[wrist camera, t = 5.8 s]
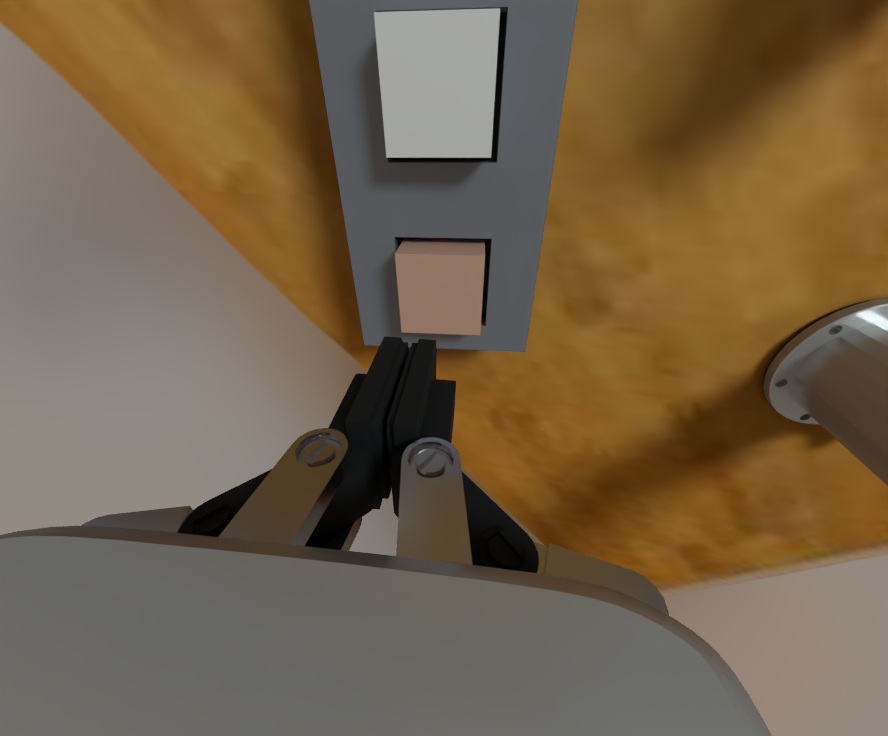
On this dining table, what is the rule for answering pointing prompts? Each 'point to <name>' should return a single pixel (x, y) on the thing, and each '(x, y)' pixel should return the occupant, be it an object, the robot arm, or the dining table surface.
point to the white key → (438, 81)
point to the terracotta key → (440, 285)
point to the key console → (447, 164)
